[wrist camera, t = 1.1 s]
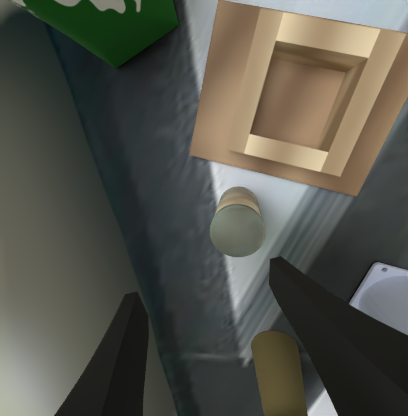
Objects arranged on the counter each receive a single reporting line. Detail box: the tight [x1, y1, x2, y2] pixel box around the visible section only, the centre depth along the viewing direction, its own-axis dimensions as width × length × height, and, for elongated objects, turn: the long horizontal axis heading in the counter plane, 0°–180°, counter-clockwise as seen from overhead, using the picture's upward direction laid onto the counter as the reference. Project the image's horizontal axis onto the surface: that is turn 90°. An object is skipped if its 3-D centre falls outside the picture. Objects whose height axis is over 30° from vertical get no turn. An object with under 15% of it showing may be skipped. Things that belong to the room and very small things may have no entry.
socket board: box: [189, 0, 408, 196], centre depth 16 cm, size 16×12×4 cm
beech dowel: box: [210, 187, 265, 257], centre depth 18 cm, size 4×4×7 cm
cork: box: [251, 331, 308, 416], centre depth 22 cm, size 6×6×11 cm
